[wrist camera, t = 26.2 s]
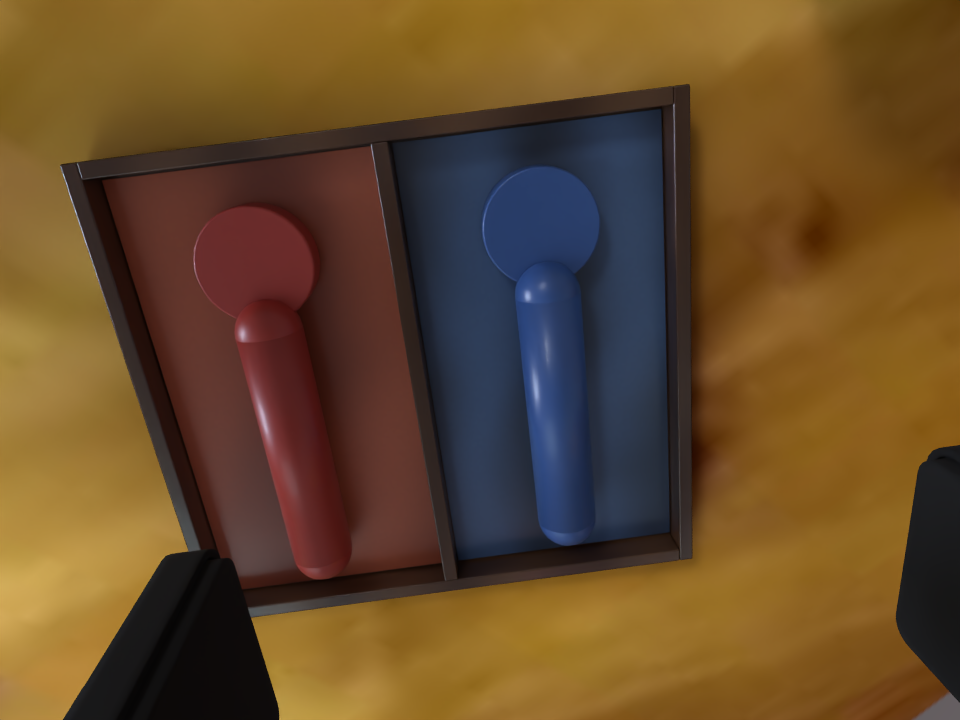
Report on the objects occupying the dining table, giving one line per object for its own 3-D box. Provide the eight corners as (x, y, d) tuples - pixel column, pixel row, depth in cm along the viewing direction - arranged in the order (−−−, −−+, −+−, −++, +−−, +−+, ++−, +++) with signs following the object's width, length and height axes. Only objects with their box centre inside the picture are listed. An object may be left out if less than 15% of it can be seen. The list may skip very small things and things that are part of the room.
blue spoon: (611, 517, 29) (625, 550, 27) (516, 529, 29) (522, 564, 27) (590, 157, 24) (606, 160, 21) (474, 172, 24) (477, 176, 21)
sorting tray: (224, 596, 30) (211, 623, 29) (86, 162, 24) (58, 164, 22) (679, 535, 31) (693, 559, 29) (673, 87, 24) (690, 83, 22)
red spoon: (380, 548, 29) (375, 585, 27) (286, 561, 29) (272, 598, 27) (307, 194, 24) (292, 202, 21) (190, 210, 24) (162, 218, 21)
